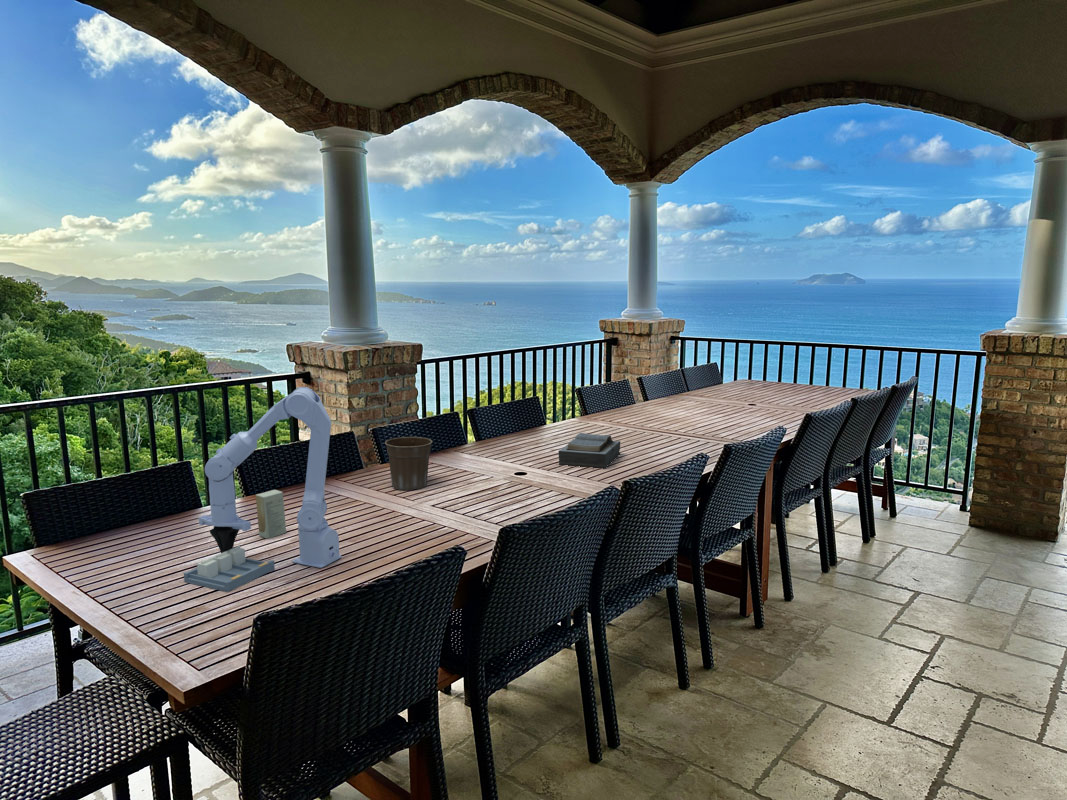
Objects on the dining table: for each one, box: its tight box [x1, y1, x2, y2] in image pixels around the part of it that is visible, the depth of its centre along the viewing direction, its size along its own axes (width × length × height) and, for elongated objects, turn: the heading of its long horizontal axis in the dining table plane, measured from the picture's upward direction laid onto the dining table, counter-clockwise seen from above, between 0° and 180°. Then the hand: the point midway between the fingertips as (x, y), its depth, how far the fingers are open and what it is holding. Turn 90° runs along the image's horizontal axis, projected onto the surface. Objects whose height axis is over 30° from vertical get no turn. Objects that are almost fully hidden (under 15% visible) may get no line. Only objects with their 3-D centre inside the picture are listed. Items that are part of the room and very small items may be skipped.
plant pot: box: [384, 436, 433, 492], centre depth 245 cm, size 16×16×16 cm
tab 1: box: [196, 557, 218, 578], centre depth 166 cm, size 3×3×4 cm
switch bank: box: [183, 557, 275, 593], centre depth 169 cm, size 14×14×2 cm
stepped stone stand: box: [557, 432, 621, 470], centre depth 282 cm, size 23×27×10 cm
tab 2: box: [211, 552, 232, 572], centre depth 170 cm, size 3×3×4 cm
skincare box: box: [255, 489, 287, 540], centre depth 197 cm, size 6×4×12 cm
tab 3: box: [226, 545, 246, 565], centre depth 174 cm, size 3×3×4 cm
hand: (227, 554), depth 175 cm, fingers closed
